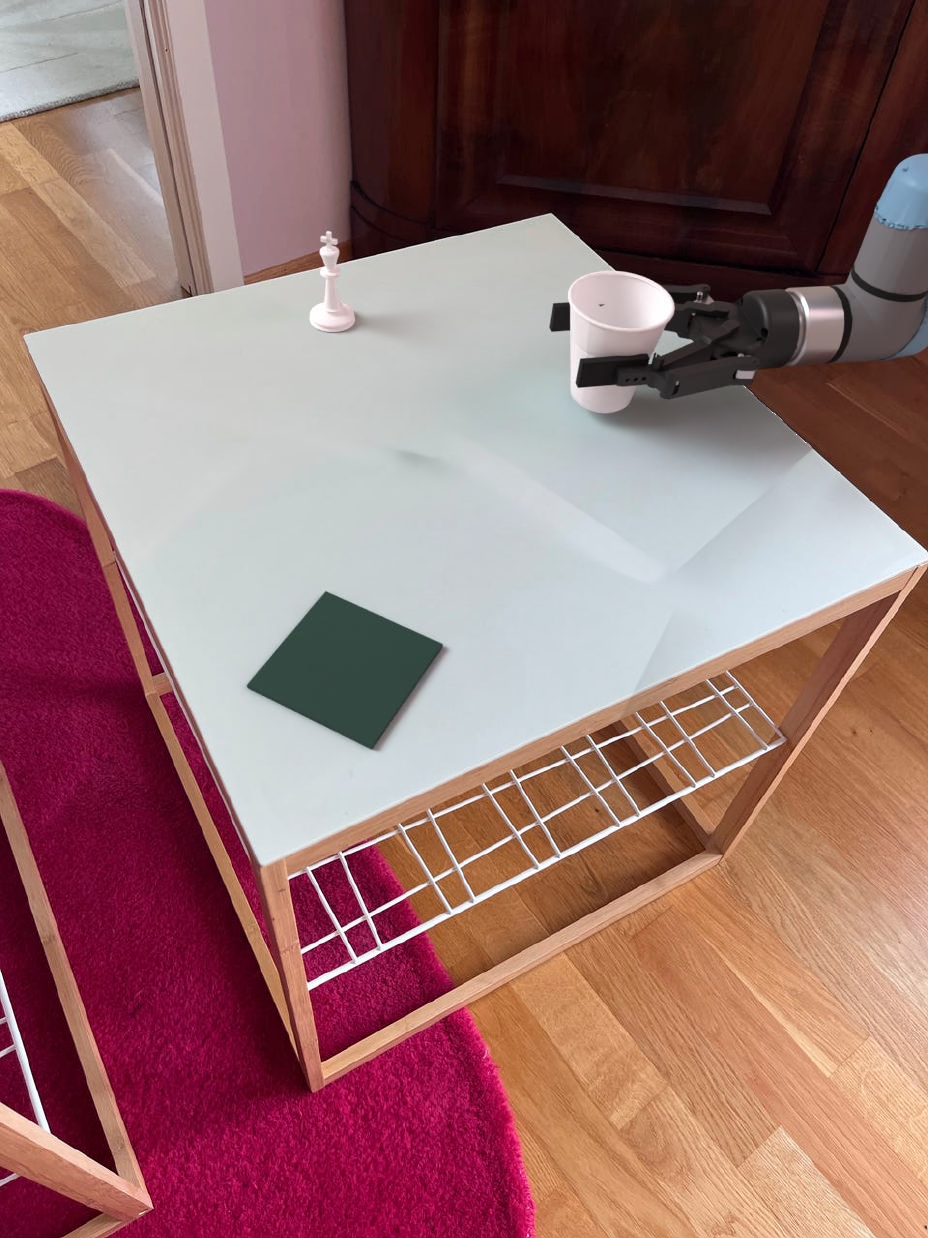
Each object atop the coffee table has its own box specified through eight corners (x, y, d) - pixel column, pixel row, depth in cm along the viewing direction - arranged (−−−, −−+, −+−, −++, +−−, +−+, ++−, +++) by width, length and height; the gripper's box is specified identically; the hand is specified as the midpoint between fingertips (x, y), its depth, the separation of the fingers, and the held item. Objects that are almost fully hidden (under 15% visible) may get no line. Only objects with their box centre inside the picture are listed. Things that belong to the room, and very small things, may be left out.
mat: (442, 646, 76) (443, 643, 75) (371, 749, 69) (371, 747, 69) (325, 593, 78) (325, 590, 78) (246, 688, 72) (246, 685, 72)
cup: (668, 398, 96) (696, 302, 88) (609, 441, 91) (632, 343, 83) (592, 354, 100) (611, 258, 92) (531, 393, 95) (546, 295, 87)
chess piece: (320, 302, 105) (315, 215, 97) (361, 312, 104) (360, 225, 97) (302, 326, 102) (296, 238, 94) (345, 336, 101) (342, 249, 94)
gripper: (816, 426, 91) (591, 447, 86) (730, 302, 103) (531, 316, 99) (846, 359, 85) (606, 379, 80) (751, 237, 98) (540, 249, 93)
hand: (565, 344), depth 90 cm, fingers closed on cup, 8 cm apart
